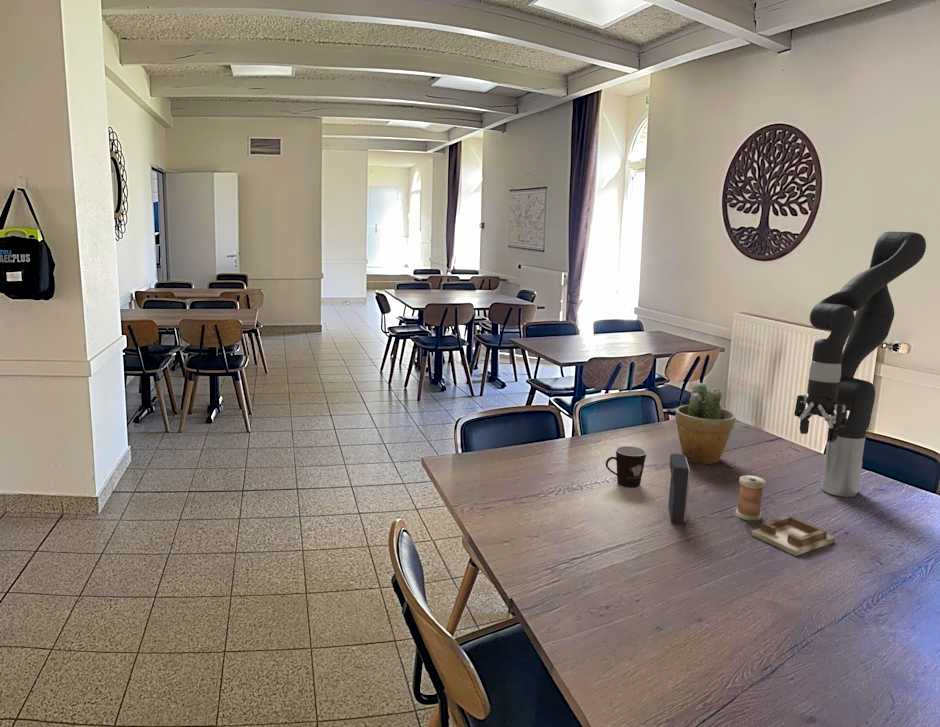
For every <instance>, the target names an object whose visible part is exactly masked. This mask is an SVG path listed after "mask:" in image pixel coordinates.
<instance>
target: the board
mask: <svg viewBox="0 0 940 727" xmlns="http://www.w3.org/2000/svg"><path fill="white" fill-rule="evenodd" d="M751 536H752V537H755V538H756V539H759V540H760V541H763V542H765V543H767V544H770V545H772V546H773V547H775V546H776V547H775V548H777V549H780V550H782V551H784V552H787V553H788V554H790V555H793V556H794V557H796V556H799V555H803V554H805V553H807V552H811V551H813V550H816V549H819V548H821V547H822V548H823V547H824V546H828V545H831V544H833V543H836V542H835V540H836V537H835V536H833V535H830V534H829V533H828V531H827V530H826V529H823V528H821V527H818V526H816V525H814V524H811V523H808V522H806V521H804V520H801V519H799V518H797V517H796V516H795V517H794V516H792V515H790V514H787V515H783V516H781V517H777V518H774V519H771V520H767V521H765V522H761V527H759V528H756V529H753V530H751Z"/></svg>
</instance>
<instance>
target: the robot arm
mask: <svg viewBox="0 0 940 727" xmlns="http://www.w3.org/2000/svg"><path fill="white" fill-rule="evenodd" d="M926 250H927V242H926V239H925V236H923V234H921V233H918V232H914V231H885V232H883V233H881V235H879V237H878V238H877V240H876V242H875V245H874V248H873V251H872V255H871V260H870V264H869V268H868V269H866V270H864V271H862V272H860V273H858V274H856V275H855V276H853V277H852V278H850V280H848V282H847V283H846V284H845V285H843V287H842V288H841V289H840V290H838V291H836V292H834V293H833V294H831V295H828V296H827V297H825V298H823V299H822V300H820V301H819V302H817V303H816V304H815V305H814V307H812V309H811V311H810V314H809V323H810V324H811V325H812V327H814V328H815V329H818V330H822V331H830V334H829V335H828V337H826V338H820V339H816V340H815V341H814V344H813V349H812V355H811V356H812V357H811V364H810V367H809V373H808V380H807V382H808V383H807V391H806V394H799V395H797V397H796V401H795V406H794V407H795V408H794V416H795V417H798V418H799V420H800V422H799V432H800V434H802V435H807V434H808V433H809V428H810V420H809V419H810V418H812V416H818V417H820V418H823V419H824V421H826V423H827V425H828V430H827V438H826V450H825V456H824V462H823V468H822V469H823V471H822V476H821V477H822V478H821V484H820V489H821V490H822V491H824V493H827V494H830V495H834V496H837V497H842V498H843V497H845V498H851V497H856V496H857V494H858V492H859V489H860V488H859V487H860V481H861V474H862V469H863V468H862V467H863V455H864V448H865V442H866V436H867V432H868V429H869V426H870V424H871V418H872V413H873V409H874V405H875V404H874V403H875V399H876V388H875V386H874V384H873V383H872V382H871V381H868V380H863V379H859V378H855V375H856V373H857V370H858V368H859V367H860V364H861V363H862V362H863V361H864V360H865V358H867V357H868V356H869V355H870V354H871V353H872V352H874V351H875V350H876V349H877V348H879V346H880V345H882V344H883V342H884V341H885V340H886V339H887V338H888V336H889V333H890V330H891V327H892V324H893V321H894V318H895V307H894V303H893V301H892V298H891V297H892V296H891V294H890V290H889V287H888V284H890V283H891V282H893V281H894V280H895V279H897V278H898V277H900V276H901V275H903V274H904V273H906V272H907V271H909V270H910V269H912V268H913V267H914V266H917V264H918V263H920V261H921V260H922V259H923V257H924V255H925V253H926ZM854 312H855V313H854ZM806 406H807V407H806ZM848 411H849V413H848ZM847 415H848V416H847Z"/></svg>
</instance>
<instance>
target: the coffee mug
mask: <svg viewBox="0 0 940 727" xmlns="http://www.w3.org/2000/svg"><path fill="white" fill-rule="evenodd" d="M646 457H647V451H646V450H645V449H643V448H641V447H638V446H633V445H631V446H630V445H623V446H618V447H616V449H615V456H611V457H608V458H607V459H606V462H605V467H606V469H607V470H608V471H609V472H610V473H612V474H613V475H615V476H616V477H617V478H616V480H617V482H616V483H617V485H619V486H620V487H623V488H625V489H626V488H627V489H636V488H638V487H640V486H641V483H642V482H641V481H642V477H643V472H644V468H645V463H646ZM611 460H615V461H616V462H615V463H616V471H614V470H612V469H611V468H610V467H609V463H610V462H609V461H611Z"/></svg>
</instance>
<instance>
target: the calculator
mask: <svg viewBox="0 0 940 727" xmlns="http://www.w3.org/2000/svg"><path fill="white" fill-rule="evenodd" d="M688 462H689V461H688V460H687V459H686V457H685V455H683V454H678V453H671V454H670V459H669V470H670V482H669V484H670V485H669V496H668V505H667V506H668V511H669V518H670V522H671V524H677V525H684V523H686V522H687V513H688V502H689V494H690V485H689V483H690V482H689V481H690V472H691V471H690V470H691V469H690V466H689V463H688Z"/></svg>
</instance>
